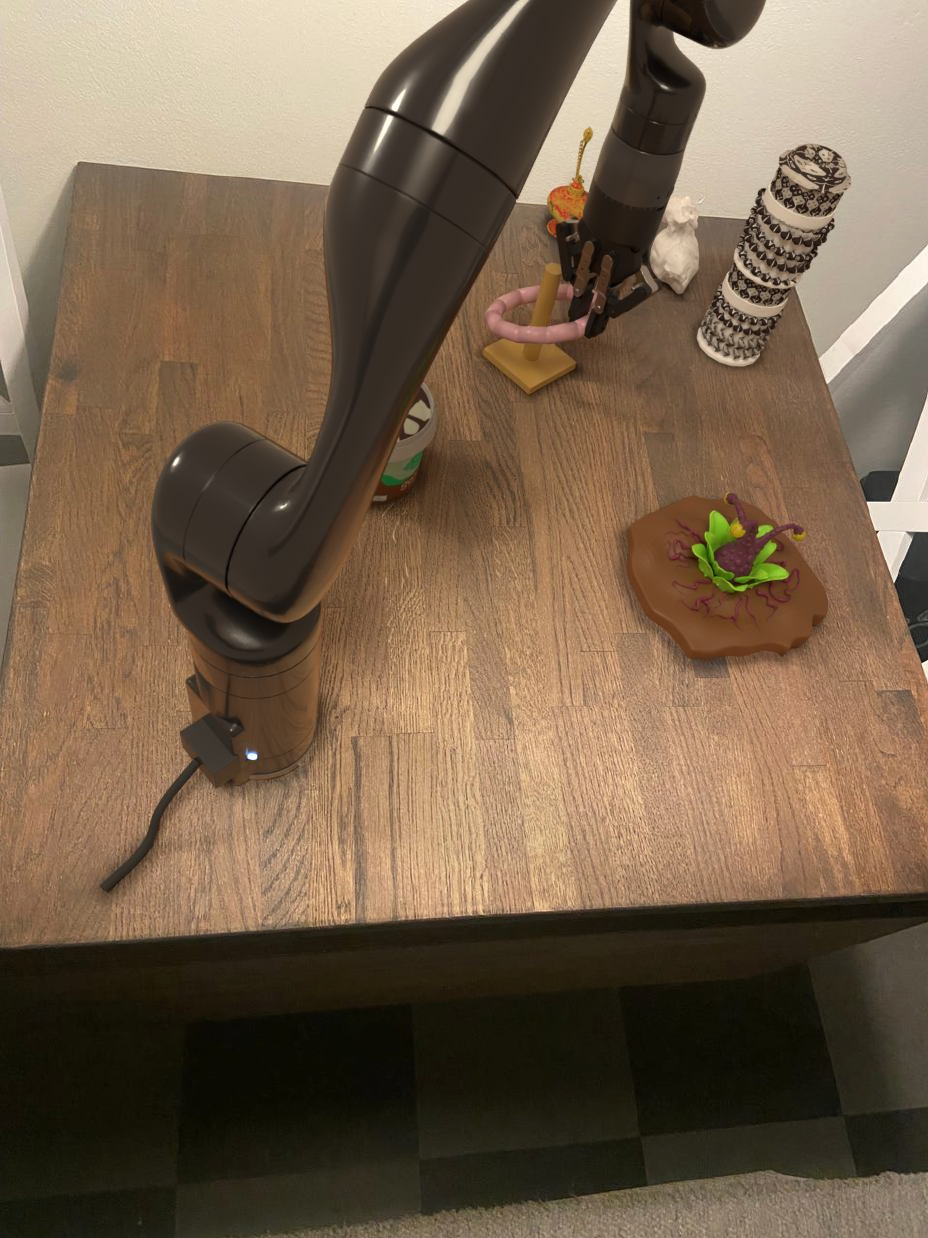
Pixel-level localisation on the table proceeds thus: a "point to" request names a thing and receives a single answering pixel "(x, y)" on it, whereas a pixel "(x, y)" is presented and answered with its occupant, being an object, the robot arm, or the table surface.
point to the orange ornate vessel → (569, 194)
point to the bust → (677, 245)
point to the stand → (534, 361)
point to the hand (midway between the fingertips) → (584, 328)
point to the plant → (723, 578)
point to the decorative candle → (774, 252)
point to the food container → (408, 450)
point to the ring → (533, 332)
